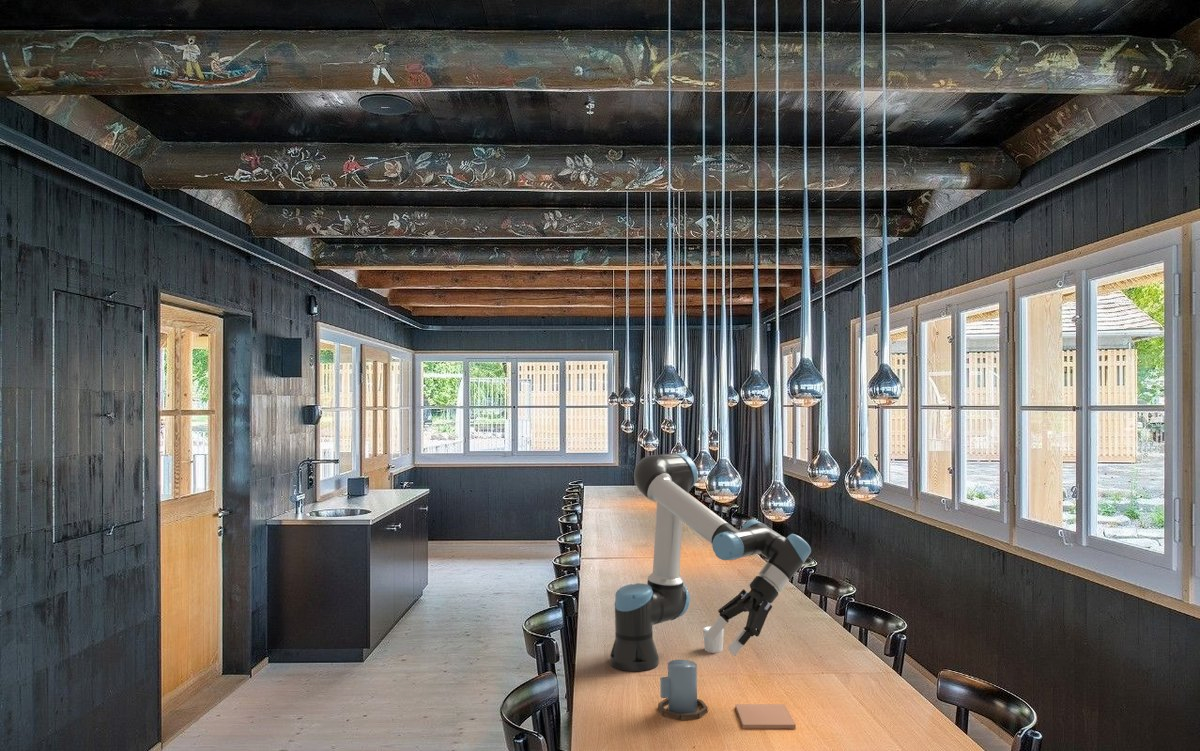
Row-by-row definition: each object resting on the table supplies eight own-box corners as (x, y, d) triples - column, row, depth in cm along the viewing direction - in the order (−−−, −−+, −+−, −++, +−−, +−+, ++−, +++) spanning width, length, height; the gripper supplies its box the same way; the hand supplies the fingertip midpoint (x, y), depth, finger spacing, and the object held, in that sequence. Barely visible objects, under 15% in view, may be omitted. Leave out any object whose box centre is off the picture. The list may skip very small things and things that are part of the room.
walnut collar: (673, 697, 214) (673, 693, 214) (713, 707, 207) (713, 702, 207) (651, 712, 204) (651, 708, 204) (692, 723, 197) (692, 718, 197)
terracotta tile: (735, 707, 207) (735, 704, 207) (784, 707, 207) (784, 704, 207) (743, 728, 194) (743, 724, 194) (795, 728, 194) (795, 724, 194)
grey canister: (690, 703, 211) (689, 658, 211) (701, 713, 203) (701, 667, 204) (656, 707, 208) (655, 662, 208) (666, 718, 200) (666, 671, 201)
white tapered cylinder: (710, 645, 260) (709, 624, 260) (728, 649, 255) (727, 627, 255) (699, 650, 254) (698, 629, 254) (717, 654, 250) (717, 632, 250)
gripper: (801, 603, 203) (750, 668, 198) (755, 583, 227) (709, 640, 222) (782, 584, 201) (731, 649, 197) (738, 566, 225) (691, 623, 220)
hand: (719, 644), depth 209 cm, fingers open, 13 cm apart
